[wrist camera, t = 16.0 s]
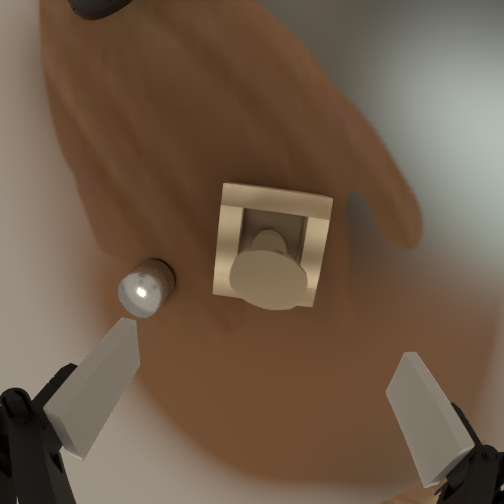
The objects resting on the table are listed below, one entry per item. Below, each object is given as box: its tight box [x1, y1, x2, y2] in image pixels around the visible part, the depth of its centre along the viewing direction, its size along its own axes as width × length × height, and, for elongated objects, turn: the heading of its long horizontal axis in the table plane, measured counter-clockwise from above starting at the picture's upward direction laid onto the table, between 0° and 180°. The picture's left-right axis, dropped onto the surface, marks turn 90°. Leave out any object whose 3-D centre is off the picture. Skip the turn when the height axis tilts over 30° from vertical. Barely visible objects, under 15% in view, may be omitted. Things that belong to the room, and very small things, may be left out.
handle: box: [229, 228, 308, 310], centre depth 30 cm, size 5×6×15 cm
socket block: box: [213, 182, 333, 307], centre depth 35 cm, size 14×12×5 cm
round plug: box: [118, 260, 175, 318], centre depth 37 cm, size 6×6×6 cm
